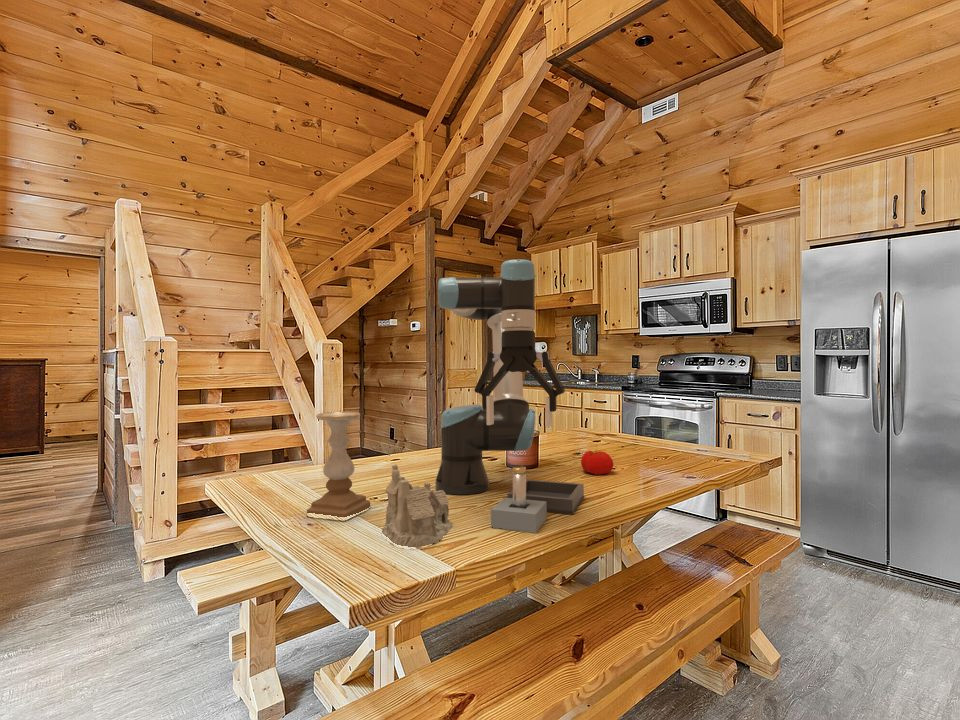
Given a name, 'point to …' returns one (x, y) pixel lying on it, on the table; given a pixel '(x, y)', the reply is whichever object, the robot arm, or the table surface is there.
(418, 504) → the ceramic cottage
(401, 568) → the table surface
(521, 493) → the pin
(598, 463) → the tomato
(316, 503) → the candle holder
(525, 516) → the pin block
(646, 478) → the table surface
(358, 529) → the table surface
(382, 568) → the table surface
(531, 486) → the tray
